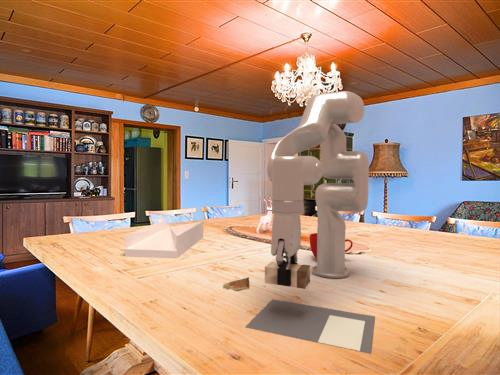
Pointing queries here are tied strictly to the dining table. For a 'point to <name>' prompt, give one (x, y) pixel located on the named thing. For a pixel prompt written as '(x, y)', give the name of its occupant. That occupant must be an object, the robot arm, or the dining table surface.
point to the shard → (237, 284)
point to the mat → (316, 325)
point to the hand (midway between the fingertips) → (287, 280)
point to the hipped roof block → (163, 240)
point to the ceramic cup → (314, 244)
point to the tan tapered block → (298, 275)
